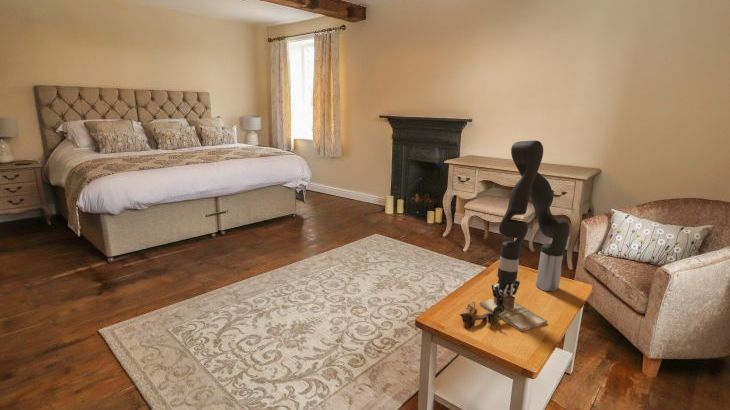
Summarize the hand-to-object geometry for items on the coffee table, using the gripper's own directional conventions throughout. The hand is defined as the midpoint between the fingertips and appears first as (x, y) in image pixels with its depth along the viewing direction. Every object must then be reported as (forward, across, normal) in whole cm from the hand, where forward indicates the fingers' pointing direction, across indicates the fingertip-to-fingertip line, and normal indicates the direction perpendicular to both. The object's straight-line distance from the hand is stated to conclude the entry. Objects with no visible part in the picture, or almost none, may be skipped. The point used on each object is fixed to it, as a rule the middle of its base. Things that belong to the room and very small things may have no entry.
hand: (503, 305), depth 164 cm
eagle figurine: (+2, +11, +6) cm, 13 cm away
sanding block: (0, 0, 0) cm, 0 cm away
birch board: (+1, 0, +5) cm, 5 cm away
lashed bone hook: (+2, +17, +1) cm, 17 cm away
